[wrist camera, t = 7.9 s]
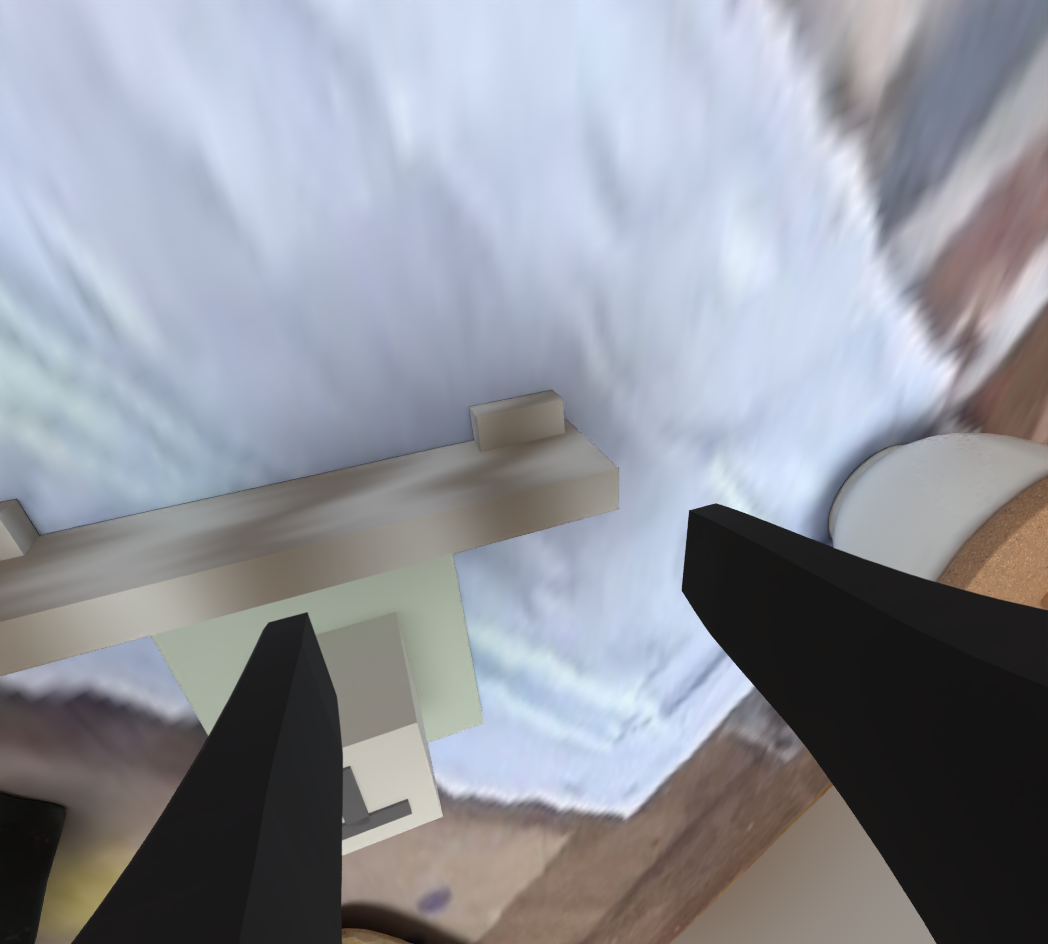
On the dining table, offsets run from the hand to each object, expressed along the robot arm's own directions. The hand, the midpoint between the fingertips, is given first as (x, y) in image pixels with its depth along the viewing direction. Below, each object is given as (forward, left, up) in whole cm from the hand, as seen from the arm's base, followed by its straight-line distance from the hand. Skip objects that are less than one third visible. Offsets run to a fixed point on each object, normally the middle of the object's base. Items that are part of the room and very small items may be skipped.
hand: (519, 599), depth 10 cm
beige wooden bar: (-4, +3, -10) cm, 11 cm away
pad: (-11, -1, -10) cm, 15 cm away
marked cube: (-11, 0, -9) cm, 14 cm away
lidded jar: (+3, -24, -10) cm, 26 cm away
